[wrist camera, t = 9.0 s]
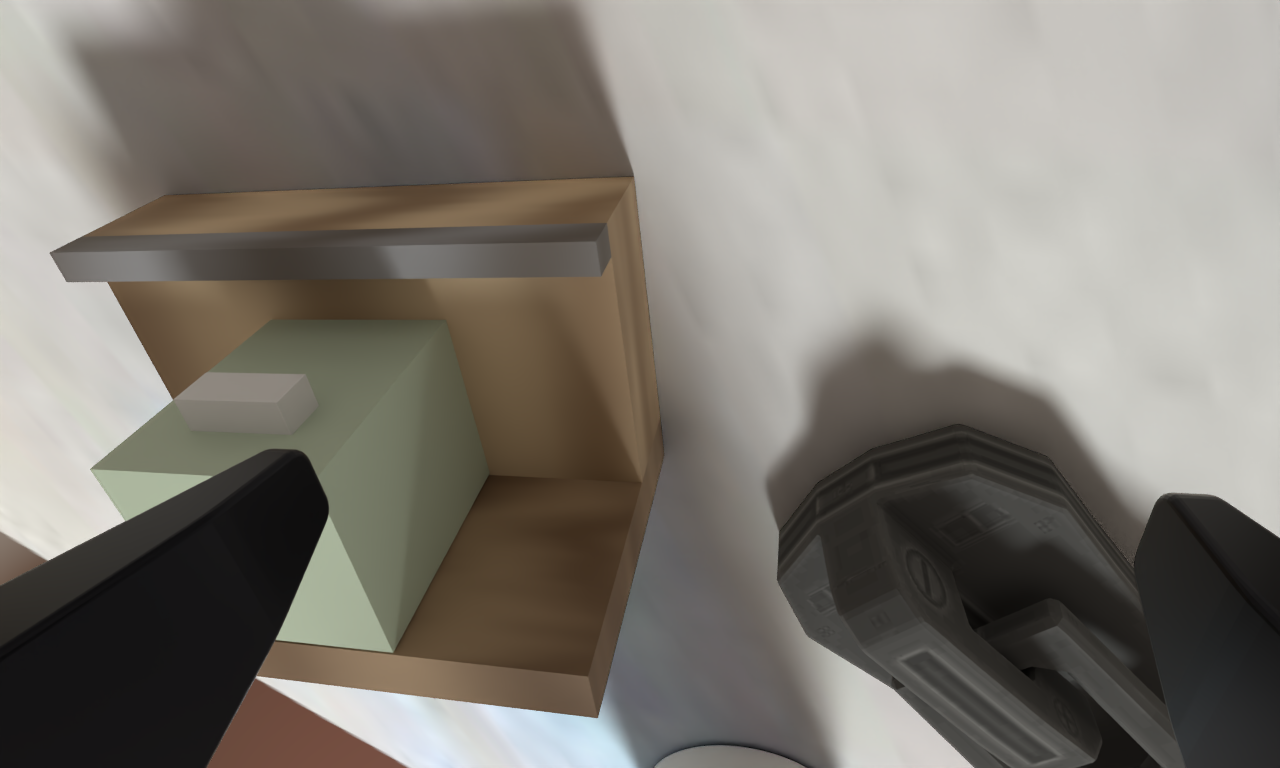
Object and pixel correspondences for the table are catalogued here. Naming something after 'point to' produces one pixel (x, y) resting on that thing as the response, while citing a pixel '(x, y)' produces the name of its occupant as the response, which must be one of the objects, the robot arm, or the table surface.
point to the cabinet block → (331, 459)
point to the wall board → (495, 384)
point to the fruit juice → (725, 758)
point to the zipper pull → (981, 602)
